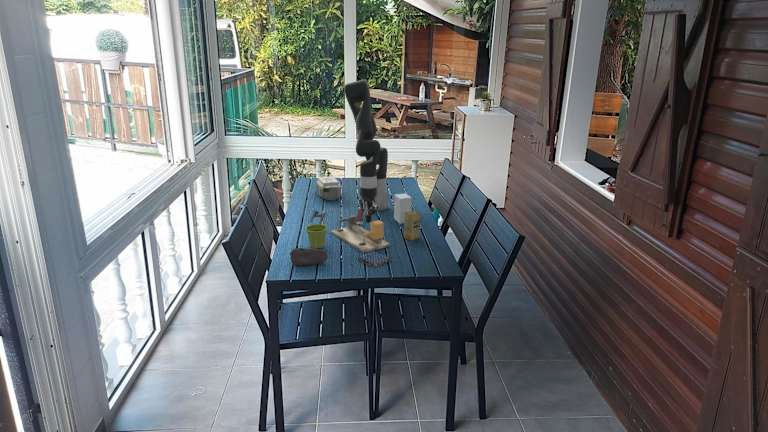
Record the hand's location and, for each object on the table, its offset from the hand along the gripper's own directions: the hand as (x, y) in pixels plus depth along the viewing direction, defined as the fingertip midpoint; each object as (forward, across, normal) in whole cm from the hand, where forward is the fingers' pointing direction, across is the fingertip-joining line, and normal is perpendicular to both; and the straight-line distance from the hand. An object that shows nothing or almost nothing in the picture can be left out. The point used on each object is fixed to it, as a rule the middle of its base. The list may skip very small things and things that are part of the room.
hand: (368, 222), depth 229 cm
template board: (+8, +2, +3) cm, 9 cm away
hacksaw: (+9, +35, +6) cm, 37 cm away
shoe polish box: (+8, -9, -18) cm, 22 cm away
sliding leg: (+6, -7, +3) cm, 10 cm away
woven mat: (+9, -21, +10) cm, 25 cm away
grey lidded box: (+9, +70, -17) cm, 72 cm away
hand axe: (+9, +29, -10) cm, 32 cm away
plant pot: (+8, +5, +23) cm, 25 cm away
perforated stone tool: (+8, -10, +34) cm, 37 cm away
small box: (+9, +12, -28) cm, 31 cm away
